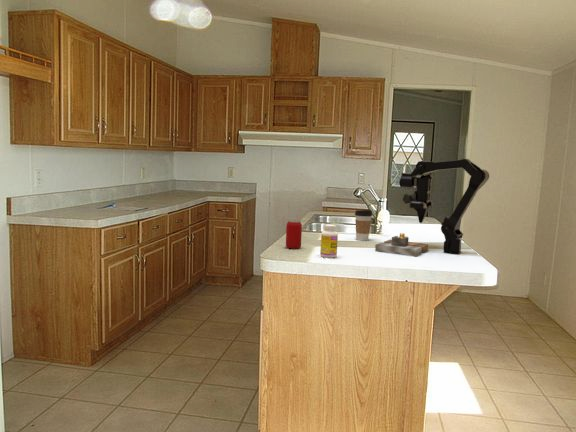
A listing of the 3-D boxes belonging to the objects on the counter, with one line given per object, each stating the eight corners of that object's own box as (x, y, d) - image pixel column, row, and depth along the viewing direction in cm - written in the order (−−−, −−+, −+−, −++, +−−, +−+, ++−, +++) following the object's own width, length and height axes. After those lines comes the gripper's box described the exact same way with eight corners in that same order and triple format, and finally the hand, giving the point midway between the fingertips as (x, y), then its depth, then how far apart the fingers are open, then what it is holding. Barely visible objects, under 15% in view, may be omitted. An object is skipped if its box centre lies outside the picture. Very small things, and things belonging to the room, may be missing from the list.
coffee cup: (371, 241, 241) (373, 211, 239) (354, 241, 241) (356, 210, 239) (369, 239, 249) (371, 209, 247) (352, 238, 249) (354, 209, 247)
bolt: (407, 243, 219) (408, 233, 218) (402, 245, 213) (402, 234, 212) (401, 242, 220) (401, 232, 220) (395, 244, 214) (396, 234, 214)
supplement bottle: (330, 258, 194) (331, 226, 193) (317, 256, 198) (318, 224, 197) (340, 256, 199) (341, 225, 198) (326, 254, 204) (328, 223, 202)
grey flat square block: (428, 250, 221) (429, 236, 220) (415, 256, 205) (416, 241, 205) (389, 245, 230) (390, 232, 229) (375, 251, 215) (376, 236, 214)
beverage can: (301, 247, 219) (302, 220, 217) (300, 249, 212) (301, 222, 211) (286, 246, 219) (287, 219, 218) (284, 248, 213) (285, 221, 211)
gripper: (410, 187, 236) (409, 219, 237) (399, 188, 220) (397, 223, 221) (434, 188, 230) (432, 221, 232) (424, 189, 214) (422, 225, 216)
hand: (420, 222), depth 225 cm, fingers closed
